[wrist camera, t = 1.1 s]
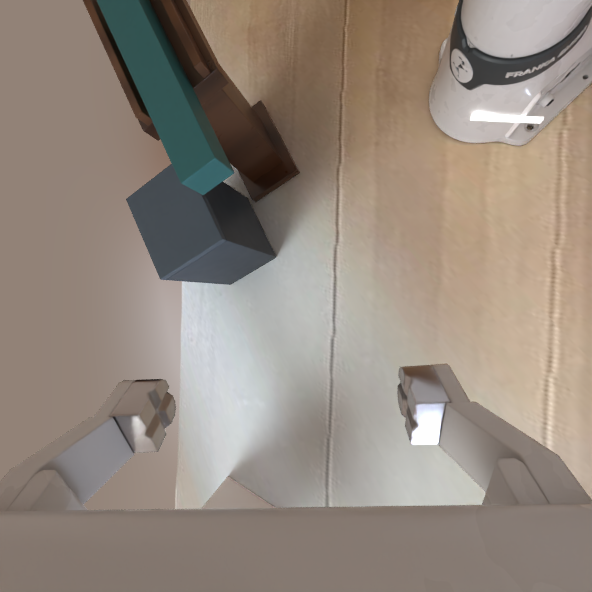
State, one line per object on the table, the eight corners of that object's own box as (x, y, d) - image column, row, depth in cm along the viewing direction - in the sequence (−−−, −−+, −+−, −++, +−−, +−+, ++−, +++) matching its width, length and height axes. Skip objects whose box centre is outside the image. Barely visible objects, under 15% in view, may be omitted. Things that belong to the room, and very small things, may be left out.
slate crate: (276, 257, 53) (222, 239, 36) (230, 284, 56) (160, 279, 39) (247, 197, 55) (182, 154, 38) (203, 227, 57) (125, 199, 41)
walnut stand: (302, 177, 52) (207, 55, 25) (258, 206, 54) (129, 122, 28) (261, 100, 54) (135, -85, 28) (221, 132, 56) (70, -12, 30)
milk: (206, 530, 57) (62, 709, 32) (227, 476, 56) (94, 619, 31) (262, 571, 54) (148, 806, 29) (286, 514, 52) (189, 711, 28)
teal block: (234, 173, 26) (215, 157, 23) (203, 195, 27) (180, 183, 24) (135, -29, 30) (107, -64, 27) (110, -3, 30) (81, -33, 28)
